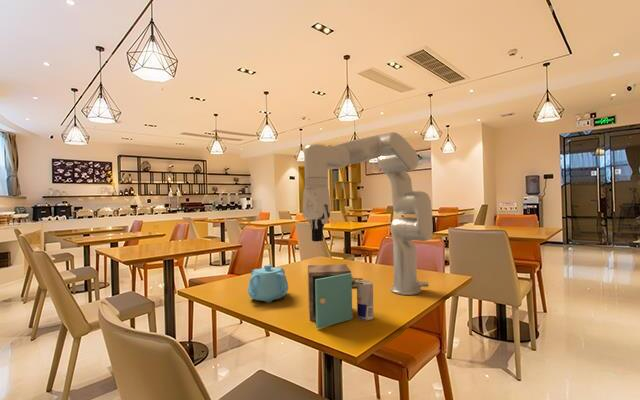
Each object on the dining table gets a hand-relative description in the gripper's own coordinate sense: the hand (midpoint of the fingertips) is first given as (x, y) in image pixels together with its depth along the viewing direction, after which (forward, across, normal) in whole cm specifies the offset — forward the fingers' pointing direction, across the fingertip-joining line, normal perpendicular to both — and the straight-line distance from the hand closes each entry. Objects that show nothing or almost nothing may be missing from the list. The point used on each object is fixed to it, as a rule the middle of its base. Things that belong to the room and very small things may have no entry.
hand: (317, 240), depth 105 cm
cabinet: (+27, -6, +8) cm, 29 cm away
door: (+26, +4, +4) cm, 27 cm away
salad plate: (+27, -34, +35) cm, 56 cm away
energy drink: (+27, +5, +16) cm, 32 cm away
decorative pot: (+27, -36, -1) cm, 45 cm away
